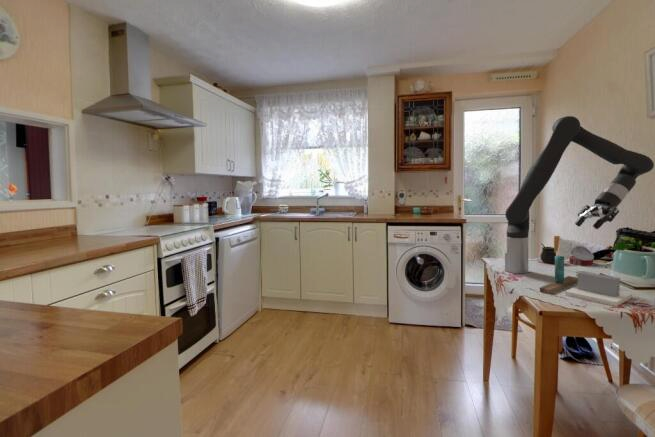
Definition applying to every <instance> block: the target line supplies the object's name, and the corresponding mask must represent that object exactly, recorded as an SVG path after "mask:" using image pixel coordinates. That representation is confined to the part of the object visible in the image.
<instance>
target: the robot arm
mask: <svg viewBox="0 0 655 437" xmlns="http://www.w3.org/2000/svg"><path fill="white" fill-rule="evenodd" d="M551 129H552V130H551V131H552V134H551V136H550V138H549V140H548V142H547V144H546V145H545V146H544V148H543V150H542V151H541V152H540V153H539V154H538V155H537V157H536V158H535V160H534V161H533V163H532V164H531V165H530V167H529V169H528V171H527V173H526V175H525V177H524V179H523V182H522V183H521V186H520V188H519V190H518V192H517V194H516V195H515V197H514V199H513V200H512V202H511V203H510V204H509V206H508V207H507V208H506V210H505V218H506V220H507V230H506V251H505V252H504V271H505V272H508V273H512V274H523V275H524V274H528V273H529V268H530V267H529V233H530V210H531V209H530V208H531V206H532V204H533V203H534V201H535V199H536V198H537V197H538V195H539V194H540V193H541V192H542V190H543V189H544V188H545V187H546V186H547V184H548V183H549V181H550V180H551V178H552V176H553V174H554V172H555V170H556V169H557V167H558V165H559V162H560V161H561V159H562V157H563V154H564V153H565V151H566V149H568V147H569V145H570V144H571V142H572V143H575V144H576V145H579V146H580V147H583V148H584V149H586V150H588V151H589V152H591V153H592V154H594V155H595V156H597V157H600V158H601V159H603V160H604V161H606V162H608V163H610V164H612V165H622V166H621V167H620V168H619V171H618V173H617V175H616V176H615V177H614V178H613V179H612V181H611V182H610V183H609V184H608V185H607V186H606V187H605V188H604V189H603V190H602V191H601V192H600V194H598V196H596V198H595V199H594V204H593V205H591V206H589V205H588V204H586V205H584V206H583V207H582V208H581V209H580V211H579V212H578V213H576V215H577V217H579V218H578V219H576V221H575V222H574V224H575V225H576V226H577V227H579V228H580V227H581V226H582V225H583V223H584V222H586V220H587V219H593V218H595V217H598V218H597V220H596V221H595V223H593V225H592V227H593V228H594V229H595V230H599V228H601V227H602V226H603V225H604V224H606V223H607V222H609V223H611V222H612V221H613V220H614V219H615V218H616V216H617V215H618V214H619V213H620V209H619V208H618V206H619V205H620V204H621V203H622V202H623V201H624V200H625V199H626V197H627V195H628V194H629V193H630V191H631V190H632V189H633V188H634V187H635V185H636V184H637V183H636V182H637V181H636V179H637V178H638V177H639V176H642V175H645V174H646V173H649V172H651V171H652V170H653V169H654V167H655V164H654V161H653V159H651V157H649V156H647V155H645V154H642V153H639V152H636V151H632V150H628V149H625V148H624V147H622V146H620V145H619V144H617V143H616V142H612V141H611V140H609V139H606V138H603V137H602V136H599V135H597V134H594V133H593V132H590V131H589V130H588V129H585V128H584V127H582V125H581V121H580V119H578V118H577V117H576V116H572V115H567V116H563V117H562V116H561V117H560V118H558V119H556V120H555V121H554V123H553V124H552V128H551Z"/></svg>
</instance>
